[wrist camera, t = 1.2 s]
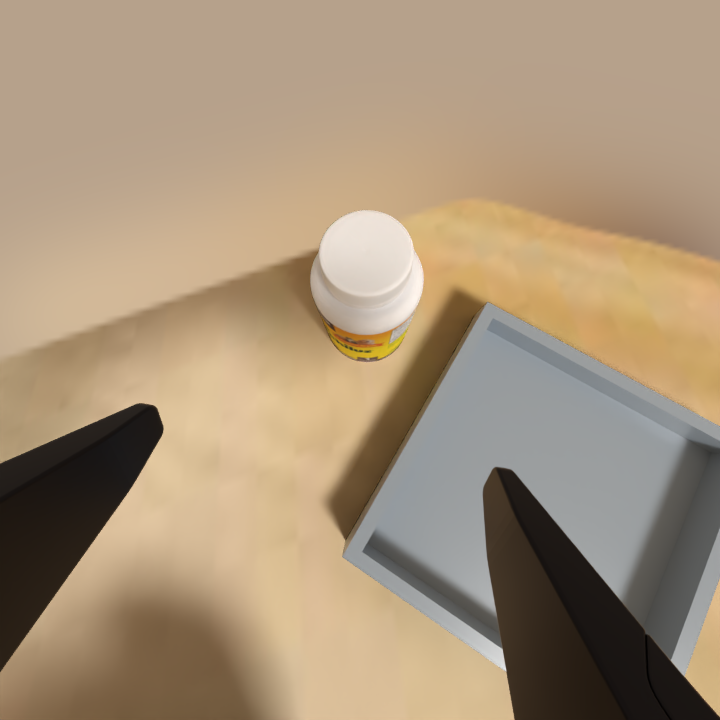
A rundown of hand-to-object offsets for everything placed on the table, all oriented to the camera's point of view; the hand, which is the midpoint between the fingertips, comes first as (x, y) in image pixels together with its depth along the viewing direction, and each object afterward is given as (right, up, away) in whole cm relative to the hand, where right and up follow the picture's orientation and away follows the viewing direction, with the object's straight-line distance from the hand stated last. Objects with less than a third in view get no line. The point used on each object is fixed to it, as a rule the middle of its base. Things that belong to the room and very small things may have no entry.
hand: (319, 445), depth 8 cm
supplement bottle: (+2, +5, +15) cm, 16 cm away
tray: (+12, -6, +12) cm, 18 cm away
